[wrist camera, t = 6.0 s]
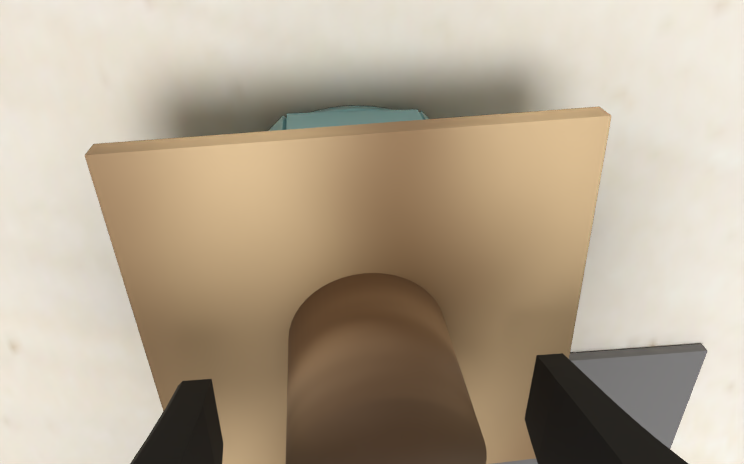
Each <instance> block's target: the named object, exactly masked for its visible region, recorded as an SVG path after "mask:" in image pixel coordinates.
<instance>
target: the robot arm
mask: <svg viewBox="0 0 744 464" xmlns="http://www.w3.org/2000/svg"><path fill="white" fill-rule="evenodd" d="M525 423H526V426H527V430H528V433H529V437H530V440H531V444H532V447H533V450H534V453H535V456H536V459H537V463H538V464H688V463H687V462H685V461H684V460H683V459H682V458H680V457H679V456H678V455H676V454H675V453H674V452H673V451H671V450H670V449H669V448H668V447H666V446H665V445H664V444H663V443H662V442H660V441H659V440H658V439H657V438H655V437H654V436H653V435H652V434H651V433H649V432H648V431H647V430H646V429H645V428H643V427H642V426H641V425H640V424H639V423H638V422H636V421H635V420H634V419H633V418H632V417H631V416H630V415H629V414H627V413H626V412H625V411H624V410H623V409H622V408H621V407H620V406H618V405H617V404H616V403H615V402H614V401H613V400H612V399H611V398H610V397H609V396H608V395H606V394H605V393H604V392H603V391H602V390H601V389H600V388H599V387H598V386H597V385H596V384H595V383H594V382H593V381H592V380H590V379H589V378H588V377H587V376H586V375H585V374H584V373H583V372H582V371H581V370H580V369H579V368H578V367H577V366H576V365H575V364H574V363H573V362H571V361H570V360H569V359H568V358H567V357H566V356H565V355H564V354H563V353H560V354H546V355H537V356H536V361H535V366H534V371H533V377H532V382H531V387H530V392H529V398H528V403H527V408H526V413H525ZM222 458H223V439H222V433H221V428H220V422H219V417H218V411H217V406H216V400H215V395H214V389H213V384H212V379H202V380H188V381H182V382H181V383H180V384H179V385H178V386H177V388H176V390H175V392H174V394H173V396H172V397H171V399H170V401H169V403H168V405H167V406H166V408H165V410H164V411H163V413H162V415H161V417H160V418H159V420H158V422H157V423H156V425H155V426H154V428H153V430H152V431H151V433H150V435H149V436H148V438H147V439H146V441H145V442H144V444H143V445H142V447H141V448H140V450H139V451H138V453H137V454H136V456H135V457H134V459H133V460H132V462H131V463H130V464H222Z"/></svg>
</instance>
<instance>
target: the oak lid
mask: <svg viewBox="0 0 744 464" xmlns="http://www.w3.org/2000/svg"><path fill="white" fill-rule="evenodd" d="M610 121H611V115H610V114H608V113H607V112H606V111H604V110H603V109H602V108H600V107H588V108H575V109H561V110H547V111H534V112H520V113H507V114H493V115H480V116H466V117H453V118H439V119H426V120H412V121H399V122H385V123H371V124H358V125H344V126H331V127H317V128H304V129H290V130H277V131H263V132H250V133H236V134H223V135H209V136H195V137H182V138H168V139H155V140H141V141H128V142H114V143H101V144H93V145H92V147H91V148H90V149H89V150H88V152H87V153H86V154H85V158H86V161H87V164H88V168H89V171H90V174H91V177H92V181H93V184H94V187H95V190H96V194H97V197H98V200H99V203H100V207H101V210H102V213H103V216H104V220H105V223H106V226H107V229H108V233H109V236H110V239H111V242H112V246H113V249H114V252H115V255H116V258H117V262H118V265H119V268H120V271H121V275H122V278H123V281H124V284H125V288H126V291H127V294H128V297H129V301H130V304H131V307H132V310H133V314H134V317H135V320H136V323H137V327H138V330H139V333H140V336H141V340H142V343H143V346H144V349H145V352H146V356H147V359H148V362H149V365H150V369H151V372H152V375H153V378H154V382H155V385H156V388H157V391H158V395H159V398H160V401H161V404H162V408H163V411H164V410H165V408H166V406H167V405H168V403H169V401H170V399H171V397H172V396H173V394H174V392H175V390H176V388H177V386H178V385H179V384H180V383H181V382H182V381H188V380H202V379H212V384H213V389H214V395H215V400H216V406H217V411H218V417H219V422H220V428H221V433H222V439H223V458H222V464H493V463H501V462H510V461H518V460H527V459H535V458H536V456H535V453H534V450H533V447H532V444H531V440H530V437H529V433H528V430H527V426H526V423H525V413H526V408H527V403H528V398H529V392H530V387H531V382H532V377H533V371H534V366H535V361H536V356H537V355H546V354H560V353H563V354H564V355H565V356H566V357H567V358H568V359H569V355H570V349H571V344H572V338H573V332H574V326H575V321H576V315H577V309H578V304H579V298H580V292H581V287H582V281H583V275H584V269H585V264H586V258H587V252H588V247H589V241H590V235H591V229H592V224H593V218H594V212H595V207H596V201H597V195H598V190H599V184H600V178H601V172H602V167H603V161H604V155H605V150H606V144H607V138H608V133H609V127H610Z"/></svg>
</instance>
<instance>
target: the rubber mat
mask: <svg viewBox="0 0 744 464" xmlns="http://www.w3.org/2000/svg"><path fill="white" fill-rule="evenodd" d="M706 353H707V350H706V348H705V347H704V346H703V345H702V344H691V345H678V346H664V347H650V348H636V349H623V350H609V351H595V352H581V353H570V355H569V360H570V361H571V362H573V363H574V364H575V365H576V366H577V367H578V368H579V369H580V370H581V371H582V372H583V373H584V374H585V375H586V376H587V377H588V378H589V379H590V380H592V381H593V382H594V383H595V384H596V385H597V386H598V387H599V388H600V389H601V390H602V391H603V392H604V393H605V394H606V395H608V396H609V397H610V398H611V399H612V400H613V401H614V402H615V403H616V404H617V405H618V406H620V407H621V408H622V409H623V410H624V411H625V412H626V413H627V414H629V415H630V416H631V417H632V418H633V419H634V420H635V421H636V422H638V423H639V424H640V425H641V426H642V427H643V428H645V429H646V430H647V431H648V432H649V433H651V434H652V435H653V436H654V437H655V438H657V439H658V440H659V441H660V442H662V443H663V444H664V445H665V446H666V447H668V448H669V449H670V448H671V445H672V443H673V440H674V437H675V435H676V432H677V429H678V427H679V424H680V422H681V419H682V416H683V414H684V411H685V408H686V406H687V403H688V401H689V398H690V395H691V393H692V390H693V387H694V385H695V382H696V380H697V377H698V374H699V372H700V369H701V366H702V364H703V361H704V359H705V356H706ZM493 464H538V463H537V459H536V458H535V459H527V460H518V461H510V462H501V463H493Z"/></svg>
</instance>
